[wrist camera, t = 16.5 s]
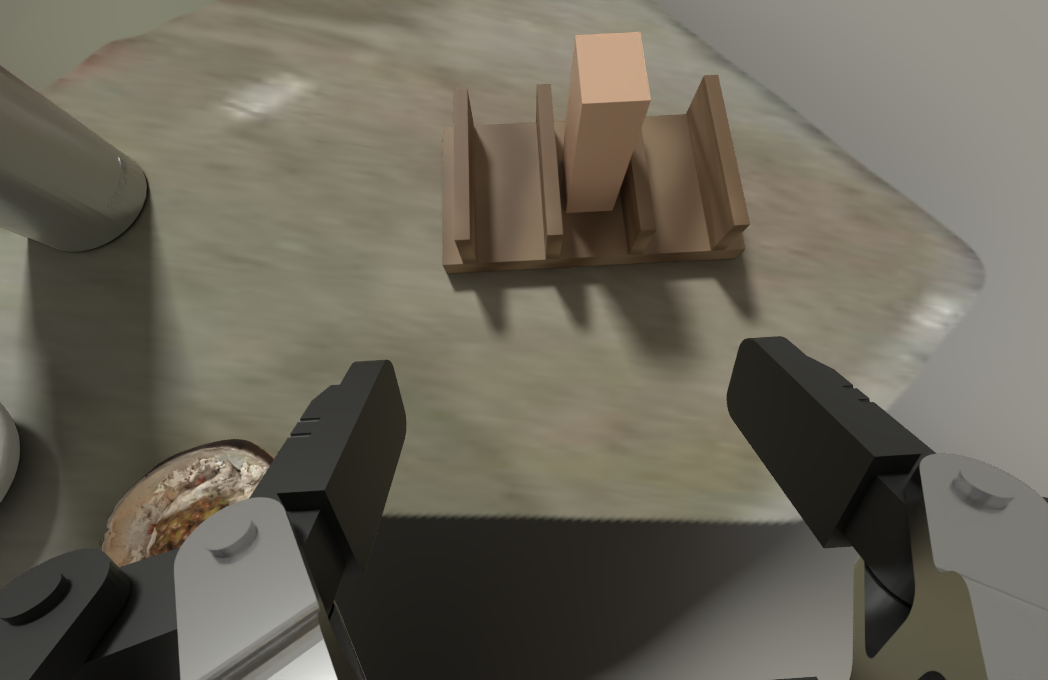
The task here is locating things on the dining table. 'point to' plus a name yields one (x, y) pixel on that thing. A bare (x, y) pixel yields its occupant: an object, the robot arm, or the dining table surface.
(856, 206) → the dining table surface
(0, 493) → the spoon rest
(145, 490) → the pie
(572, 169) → the clay block
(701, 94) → the walnut rack
